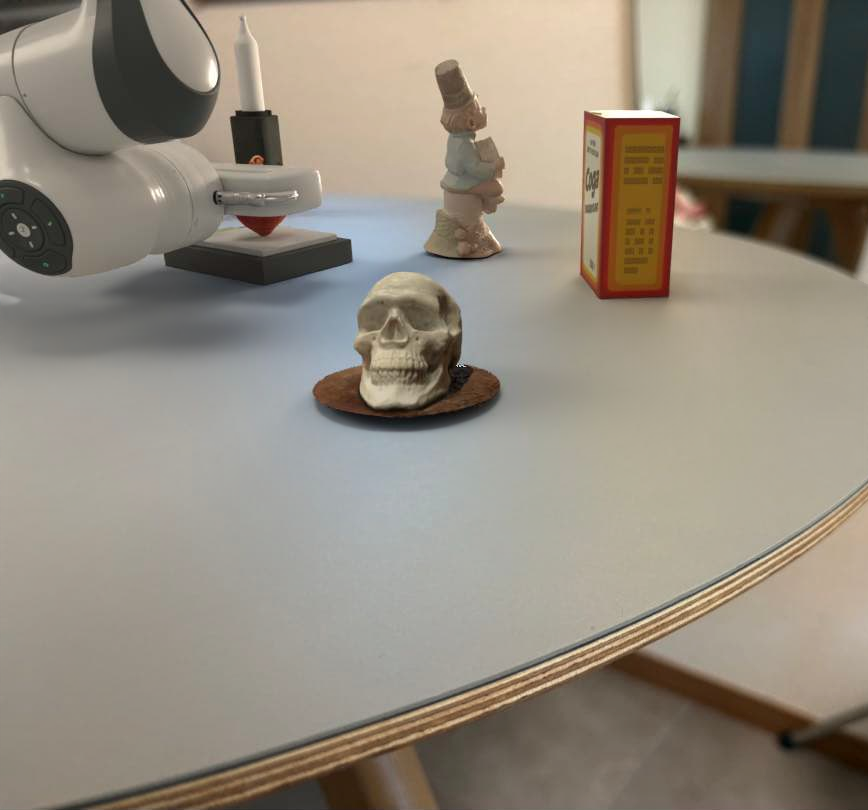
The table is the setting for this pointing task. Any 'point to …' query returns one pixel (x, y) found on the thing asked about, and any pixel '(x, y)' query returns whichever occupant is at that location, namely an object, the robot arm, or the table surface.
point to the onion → (260, 224)
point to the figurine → (465, 172)
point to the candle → (253, 107)
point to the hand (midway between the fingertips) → (257, 175)
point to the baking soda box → (628, 202)
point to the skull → (407, 355)
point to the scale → (262, 254)
